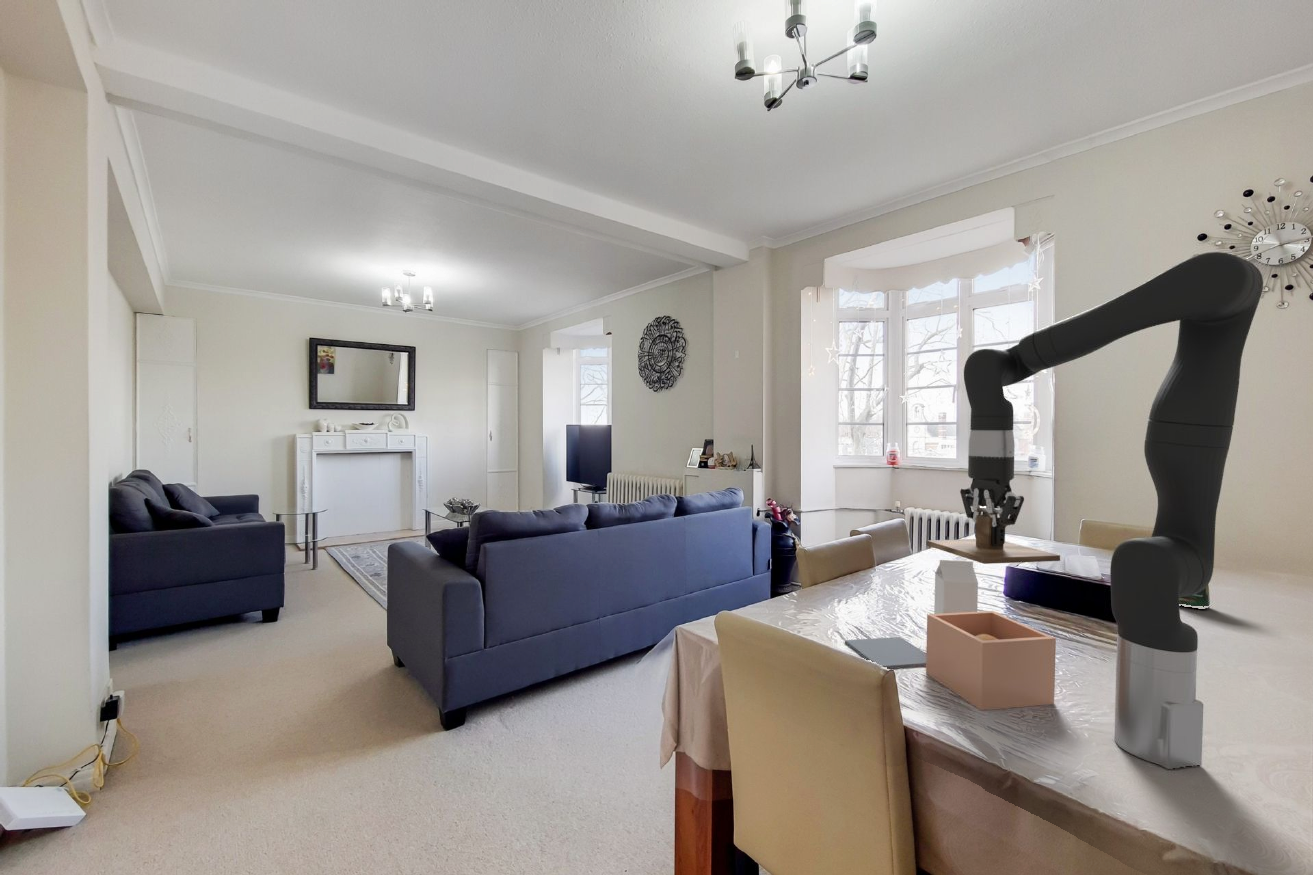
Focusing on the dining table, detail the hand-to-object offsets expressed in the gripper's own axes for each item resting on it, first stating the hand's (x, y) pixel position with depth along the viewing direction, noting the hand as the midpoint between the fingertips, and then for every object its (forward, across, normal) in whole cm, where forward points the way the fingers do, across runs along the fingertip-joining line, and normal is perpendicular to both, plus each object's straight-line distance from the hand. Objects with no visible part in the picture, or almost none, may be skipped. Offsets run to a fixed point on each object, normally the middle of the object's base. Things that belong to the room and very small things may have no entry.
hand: (989, 543), depth 106 cm
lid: (+2, 0, 0) cm, 2 cm away
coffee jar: (+28, +36, -95) cm, 105 cm away
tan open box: (+28, 0, 0) cm, 28 cm away
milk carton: (+28, +22, -10) cm, 37 cm away
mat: (+28, +18, +9) cm, 34 cm away
